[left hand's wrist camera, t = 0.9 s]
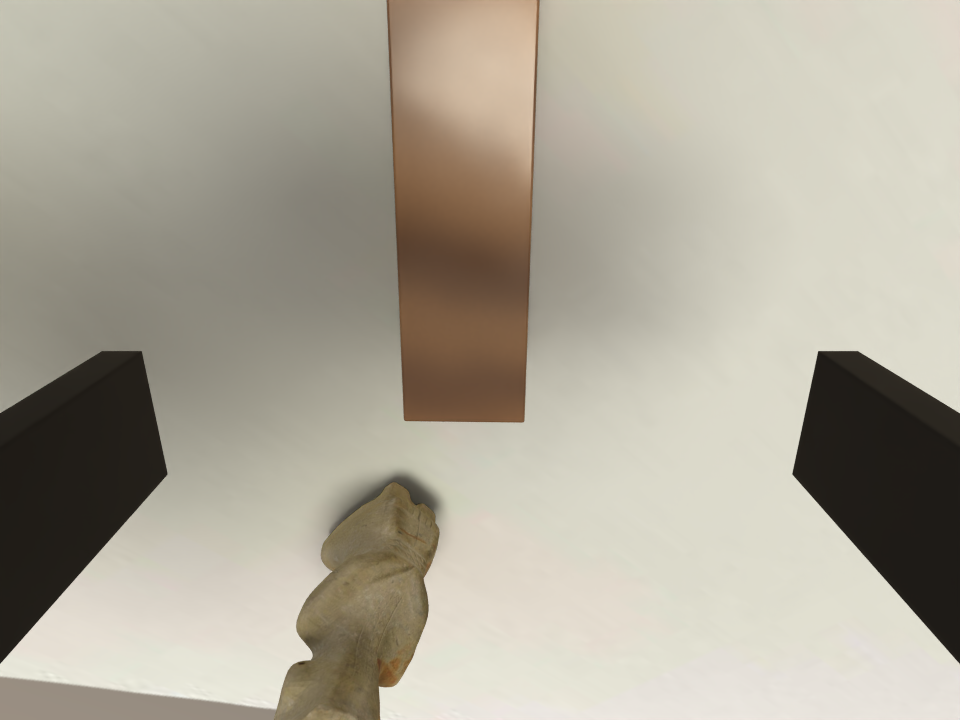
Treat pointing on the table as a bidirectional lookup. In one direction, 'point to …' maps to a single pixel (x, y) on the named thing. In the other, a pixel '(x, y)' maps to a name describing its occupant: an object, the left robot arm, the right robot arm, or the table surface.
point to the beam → (463, 202)
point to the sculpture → (363, 611)
